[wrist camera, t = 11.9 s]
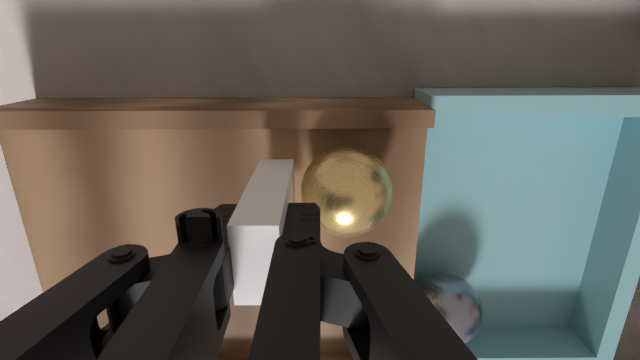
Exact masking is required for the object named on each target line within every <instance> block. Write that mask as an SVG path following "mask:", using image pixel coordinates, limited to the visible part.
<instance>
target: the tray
mask: <svg viewBox="0 0 640 360" xmlns="http://www.w3.org/2000/svg"><path fill="white" fill-rule="evenodd" d="M414 98H416V99H418V100H420V101H421V102H423V103H425V104H426V105H428V106H430V107H432V108H433V109H435V110H436V114H435V124H434V128H428V129H427V140H426V151H425V161H424V172H423V183H422V194H421V205H420V216H419V227H418V238H417V248H416V259H415V270H414V281H415V282H416V284H417V283H418V282H419V281H420V280H422V279H423V278H425V277H426V276H429V275H431V274H435V273H449V274H453V275H456V276H459V277H461V278H463V279H464V280H465V281H467V282H468V283H469V284H470V285H471V286H472V287H473V288H474V289H475V291H476V292H477V294H478V296H479V298H480V300H481V303H482V308H483V319H482V324H481V326H480V329H479V331H478V332H477V334H476V335H475V336H474V337H473V338H472V339H471V340H470V341H469V342H467V343H465V344H466V346H467V347H468V348H469V349H470V351H471V352H472V353H473V354H474V356H475V357H476V358H477V359H478V360H613V358H614V355H615V352H616V349H617V346H618V343H619V340H620V336H621V333H622V330H623V327H624V324H625V321H626V318H627V315H628V311H629V308H630V305H631V302H632V299H633V296H634V293H635V290H636V286H637V283H638V280H639V277H640V87H489V88H415V93H414Z"/></svg>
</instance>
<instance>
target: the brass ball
mask: <svg viewBox="0 0 640 360" xmlns="http://www.w3.org/2000/svg"><path fill="white" fill-rule="evenodd" d="M301 198H302V203H316V204H317V205H318V206H319V207H320V229H322V230H323V231H325V232H327V233H329V234H331V235H335V236H339V237H355V236H359V235H362V234H365V233H367V232H369V231H371V230H373V229H374V228H375V227H377V226H378V225H379V224H380V223H381V222H382V220H383V219H384V218H385V216H386V215H387V213H388V211H389V209H390V206H391V203H392V198H393V185H392V180H391V177H390V174H389V172H388V170H387V168H386V166H385V165H384V163H383V162H382V161H381V160H380V159H379V158H378V157H377V156H376V155H374V154H373V153H371V152H370V151H368V150H366V149H364V148H361V147H358V146H352V145H343V146H337V147H333V148H330V149H328V150H326V151H324V152H322V153H321V154H319V155H318V156H317V157H316V158H315V159H314V160H313V161H312V162H311V163H310V164H309V166H308V168H307V169H306V171H305V173H304V176H303V179H302V184H301Z"/></svg>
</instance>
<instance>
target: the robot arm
mask: <svg viewBox="0 0 640 360" xmlns="http://www.w3.org/2000/svg"><path fill="white" fill-rule="evenodd" d="M175 224H176V231H177V238H178V244H177V245H176V246H175V248H174V249H173V251H172V252H171V254H167V255H162V256H156V257H150V258H149V254H148V249H147V248H146V247H145V246H141V245H136V244H125V245H119V246H117V247H115V248H112V249H109V250H107V251H105V252H103V253H102V254H100V255H99V256H97V257H96V258H94V259H93V260H91V261H90V262H88V263H87V264H85V265H84V266H82V267H81V268H79V269H78V270H76V271H75V272H73V273H72V274H70V275H69V276H67V277H66V278H64V279H63V280H61V281H60V282H58V283H57V284H55V285H54V286H52V287H51V288H49V289H48V290H46V291H45V292H43V293H42V294H40V295H39V296H38V297H36V298H35V299H33V300H32V301H30V302H29V303H27V304H26V305H24V306H23V307H21V308H20V309H18V310H17V311H15V312H14V313H12V314H11V315H9V316H8V317H6V318H5V319H3V320H2V321H0V360H217V357H218V354H219V351H220V347H221V344H222V341H223V338H224V335H225V332H226V329H227V326H228V322H229V319H230V316H231V310H230V298H231V295H232V292H233V297H234V305H261V306H260V310H259V315H258V319H257V323H256V328H255V332H254V337H253V341H252V345H251V350H250V354H249V358H248V360H320V342H321V321H322V322H326V323H330V324H334V325H338V326H342V330H343V335H344V338H345V340H346V343H347V345H348V347H349V350H350V352H351V355H352V357H353V359H354V360H478V359H477V358H476V357H475V356H474V354H473V353H472V352H471V351H470V349H469V348H468V347H467V346H466V344H465V343H464V342H463V341H462V339H461V338H460V337H459V336H458V335H457V333H456V332H455V331H454V330H453V328H452V327H451V326H450V325H449V323H448V322H447V321H446V320H445V318H444V317H443V316H442V315H441V313H440V312H439V311H438V310H437V308H436V307H435V306H434V305H433V304H432V302H431V301H430V300H429V299H428V297H427V296H426V295H425V294H424V292H423V291H422V290H421V289H420V287H419V286H418V285H417V284H416V282H415V281H414V280H413V279H412V277H411V276H410V275H409V274H408V273H407V271H406V270H405V269H404V268H403V266H402V265H401V264H400V263H399V261H398V260H397V259H396V258H395V256H394V255H393V254H392V253H391V251H390V250H388V249H387V248H386V247H385V246H382V245H380V244H377V243H374V242H372V243H371V242H359V243H354V244H351V245H350V246H348V247H346V249H345V250H344V254H341V253H337V252H333V251H331V250H328V249H327V248H325V247H324V246H323V245H322V244H321V241H320V207H319V206H318V205H317V204H316V203H295V180H294V159H260V161H259V163H258V165H257V167H256V169H255V171H254V173H253V175H252V177H251V179H250V181H249V183H248V185H247V186H246V188H245V190H244V192H243V194H242V196H241V198H240V200H239V202H238V204H221V205H219V206H217V207H216V208H214V209H212V208H195V209H190V210H186V211H184V212H181V213H179V214H178V215H177V216H175ZM105 309H106V312H107V316H108V320H109V323H108V324H107V325H106V326H104V327H103V328H101V329H100V327H99V324H98V320H97V316H98V315H99V314H100V313H101V312H102V311H104V310H105Z"/></svg>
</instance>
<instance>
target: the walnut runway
mask: <svg viewBox="0 0 640 360" xmlns="http://www.w3.org/2000/svg"><path fill="white" fill-rule="evenodd" d="M435 114H436V110H435V109H433V108H432V107H430V106H428V105H426V104H425V103H423V102H421V101H420V100H418V99H416V98H414V97H374V98H72V99H31V100H26V101H21V102H16V103H11V104H7V105H2V106H0V144H1V147H2V151H3V154H4V158H5V161H6V165H7V168H8V172H9V175H10V178H11V182H12V185H13V189H14V192H15V196H16V199H17V203H18V206H19V210H20V213H21V217H22V220H23V224H24V227H25V231H26V234H27V238H28V241H29V245H30V248H31V252H32V255H33V259H34V262H35V266H36V269H37V273H38V276H39V280H40V283H41V287H42V290H43V292H45V291H46V290H48V289H49V288H51V287H52V286H54V285H55V284H57V283H58V282H60V281H61V280H63V279H64V278H66V277H67V276H69V275H70V274H72V273H73V272H75V271H76V270H78V269H79V268H81V267H82V266H84V265H85V264H87V263H88V262H90V261H91V260H93V259H94V258H96V257H97V256H99V255H100V254H102V253H103V252H105V251H107V250H109V249H112V248H115V247H117V246H119V245H125V244H136V245H141V246H145V247H146V248H147V249H148V254H149V258H150V257H156V256H162V255H167V254H171V252H172V251H173V249H174V248H175V246H176V245H177V244H178V238H177V231H176V224H175V216H177V215H178V214H179V213H181V212H184V211H186V210H190V209H195V208H212V209H214V208H216V207H217V206H219V205H221V204H238V202H239V200H240V198H241V196H242V194H243V192H244V190H245V188H246V186H247V185H248V183H249V181H250V179H251V177H252V175H253V173H254V171H255V169H256V167H257V165H258V163H259V161H260V159H294V180H295V203H302V198H301V184H302V179H303V176H304V173H305V171H306V169H307V168H308V166H309V164H310V163H311V162H312V161H313V160H314V159H315V158H316V157H317V156H318V155H319V154H321V153H322V152H324V151H326V150H328V149H330V148H333V147H337V146H343V145H352V146H358V147H361V148H364V149H366V150H368V151H370V152H371V153H373V154H374V155H376V156H377V157H378V158H379V159H380V160H381V161H382V162H383V163H384V165H385V166H386V168H387V170H388V172H389V174H390V177H391V180H392V185H393V198H392V203H391V206H390V209H389V211H388V213H387V215H386V216H385V218H384V219H383V220H382V222H381V223H380V224H379V225H378V226H377V227H375V228H374V229H373V230H371V231H369V232H367V233H365V234H362V235H359V236H355V237H339V236H335V235H331V234H329V233H327V232H325V231H323V230H322V229H320V241H321V244H322V245H323V246H324V247H325V248H327V249H328V250H331V251H333V252H337V253H341V254H344V250H345V249H346V247H348V246H350V245H351V244H354V243H359V242H371V243H372V242H374V243H377V244H380V245H382V246H385V247H386V248H387V249H388V250H390V251H391V253H392V254H393V255H394V256H395V258H396V259H397V260H398V261H399V263H400V264H401V265H402V266H403V268H404V269H405V270H406V271H407V273H408V274H409V275H410V276H411V277H412V279H413V280H414V270H415V259H416V248H417V238H418V227H419V216H420V205H421V194H422V183H423V172H424V161H425V151H426V140H427V129H428V128H434V124H435ZM260 306H261V305H234V297H233V292H232V295H231V298H230V310H231V316H230V319H229V322H228V326H227V329H226V332H225V335H224V338H223V341H222V344H221V347H220V351H219V354H218V357H217V360H248V358H249V354H250V350H251V345H252V341H253V337H254V332H255V328H256V323H257V319H258V315H259V310H260ZM97 320H98V324H99V327H100V329H101V328H103V327H104V326H106V325H107V324H108V323H109V320H108V316H107V312H106V309H105V310H104V311H102V312H101V313H100V314H99V315H98V316H97ZM320 360H354V359H353V357H352V355H351V352H350V350H349V347H348V345H347V343H346V340H345V338H344V335H343V330H342V326H338V325H334V324H330V323H326V322H322V321H321V342H320Z"/></svg>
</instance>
